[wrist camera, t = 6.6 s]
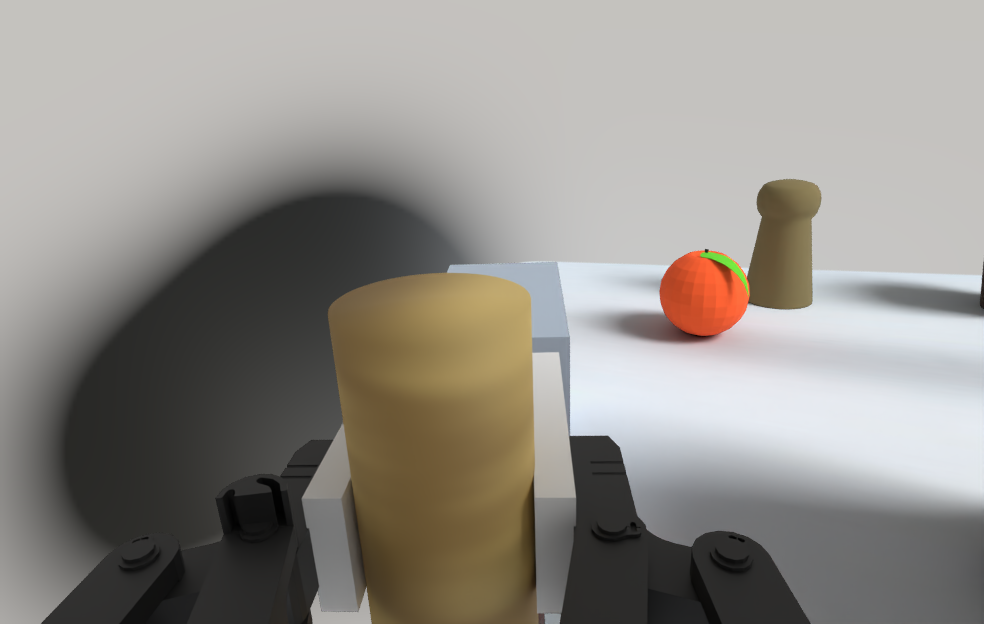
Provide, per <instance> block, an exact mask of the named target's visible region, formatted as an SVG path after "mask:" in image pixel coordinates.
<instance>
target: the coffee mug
mask: <svg viewBox="0 0 984 624" xmlns="http://www.w3.org/2000/svg"><path fill="white" fill-rule="evenodd" d="M980 306H981V307H982V308H983V309H984V264H983V275H982V286H981V298H980Z"/></svg>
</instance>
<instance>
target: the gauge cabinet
mask: <svg viewBox="0 0 984 624" xmlns="http://www.w3.org/2000/svg"><path fill="white" fill-rule="evenodd" d="M447 273H470V274H481V275H488V276H494V277H499V278H503V279H506V280H509V281H512V282H515V283H517V284H519V285H521V286H522V287H524V288H525V289H526V290H527V291H528V292H529V294H530V296H531V317H532V353H544V352H559V357H560V366H561V374H562V382H563V391H564V399H565V408H566V416H567V425H568V433H569V436H570V335H569V329H568V324H567V318H566V312H565V306H564V300H563V294H562V288H561V282H560V276H559V270H558V264H557V262H541V263H505V264H471V265H470V264H469V265H450V267H449V269H448V271H447Z"/></svg>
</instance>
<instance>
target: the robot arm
mask: <svg viewBox="0 0 984 624" xmlns="http://www.w3.org/2000/svg"><path fill="white" fill-rule="evenodd" d="M532 360H533V403H534V446H535V470H534V502H535V544H536V585H537V613H561V619H560V624H811V623H810V622H809V620H808V618H807V617H806V615H805V613H804V612H803V610H802V608H801V607H800V605H799V603H798V602H797V600H796V598H795V597H794V595H793V593H792V592H791V590H790V588H789V587H788V585H787V583H786V582H785V580H784V578H783V577H782V575H781V573H780V572H779V570H778V568H777V567H776V565H775V563H774V562H773V560H772V558H771V557H770V555H769V554H768V553H767V552H766V550H765V549H764V548H763V547H762V546H761V545H760V544H758V543H757V542H755V541H753V540H752V539H750V538H749V537H746V536H743V535H740V534H737V533H734V532H726V531H715V532H709V533H705V534H703V535H702V536H700V537H699V538H697V539H696V540H695V542H694V544H693V546H692V547H688V546H684V545H679V544H675V543H672V542H669V541H665V540H663V539H661V538H659V537H657V536H655V535H653V534H652V533H650V532H649V531H648V530H647V529H646V525H645V524H644V523H643V522H642V520H641V519H640V518H639V517H638V516H637V513H636V509H635V506H634V502H633V498H632V494H631V490H630V486H629V482H628V478H627V475H626V470H625V466H624V464H623V458H622V455H621V451H620V447H619V446H618V445H617V444H616V443H615V442H614V441H613V440H612V439H611V438H610V437H609V436H569V433H568V425H567V416H566V408H565V399H564V391H563V382H562V374H561V366H560V357H559V352H544V353H532ZM215 499H216V502H217V507H218V511H219V516H220V520H221V524H222V529H223V533H224V535H223V537H222V540H221V541H220V542H216V543H213V544H209V545H205V546H200V547H195V548H191V549H186V550H182V551H181V549H180V545H179V541H178V540H177V539H176V538H175V537H174V536H173V535H171V534H166V533H152V534H146V535H142V536H139V537H136V538H134V539H131V540H129V541H127V542H126V543H124V544H122V545H120V546H118V547H117V548H116V549H114V550H113V551H112V552H111V553H109V555H107V556H106V557H105V558H104V559H103V560H102V561H101V562H100V564H98V565H97V566H96V568H94V570H93V571H92V572H91V573H90V574H89V575H88V576H87V577H86V578H85V579H84V580H83V581H82V582H81V583H80V584H79V585H78V586H77V587H76V588H75V589H74V590H73V591H72V592H71V593H70V594H69V595H68V596H67V597H66V598H65V599H64V600H63V601H62V602H61V604H59V606H58V607H57V608H56V609H55V610H54V611H53V612H52V613H51V614H50V615H49V616H48V617H47V618H46V619H45V620H44V621H43V622H42V623H41V624H312V616H311V611H310V607H311V605H312V603H313V600H314V598H315V596H316V593H317V591H318V595H319V600H320V606H321V611H333V612H341V611H342V612H346V611H347V612H358V611H359V608H360V604H361V602H362V598H363V596H364V592H365V589H366V579H365V572H364V565H363V558H362V551H361V544H360V537H359V530H358V522H357V515H356V508H355V501H354V494H353V487H352V480H351V473H350V466H349V459H348V452H347V445H346V438H345V431H344V424H342V425H341V427H340V429H339V431H338V433H337V435H336V437H335V438H334V440H311V441H309V442H308V443H307V444H305V445H304V446H303V447H301V448H300V449H299V450H297V451H296V452H295V454H294V455H293V457H292V458H291V460H290V462H289V463H288V465H287V468H285V470H284V471H283V473H282V474H281V476H280V477H279V476H276V475H273V474H258V475H253V476H248V477H245V478H243V479H240V480H238V481H235V482H233V483H231V484H230V485H229V486H227V487H226V488H224V489H223V490H222V491H221V492H220V493H219V495H218V496H217V497H216V498H215Z"/></svg>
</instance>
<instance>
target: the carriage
mask: <svg viewBox="0 0 984 624" xmlns="http://www.w3.org/2000/svg"><path fill="white" fill-rule="evenodd" d="M328 319H329V326H330V333H331V339H332V347H333V353H334V361H335V368H336V375H337V382H338V389H339V396H340V403H341V410H342V417H343V424H344V431H345V438H346V445H347V452H348V459H349V466H350V473H351V480H352V487H353V494H354V501H355V508H356V515H357V522H358V530H359V537H360V544H361V551H362V558H363V565H364V572H365V579H366V586H367V593H368V600H369V606H370V614H371V620H372V624H539V618H538V613H537V585H536V544H535V502H534V470H535V446H534V403H533V360H532V317H531V296H530V294H529V292H528V291H527V290H526V289H525V288H524V287H522V286H521V285H519V284H517V283H515V282H512V281H509V280H506V279H503V278H499V277H494V276H488V275H481V274H470V273H433V274H420V275H411V276H404V277H398V278H393V279H388V280H384V281H379V282H376V283H372V284H369V285H366V286H363V287H360V288H357V289H355V290H353V291H350V292H348V293H346V294H345V295H343V296H341V297H340V298H338V299H337V300H336V301H335V302H334V303H332V305H331V306H330V308H329V310H328Z"/></svg>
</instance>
